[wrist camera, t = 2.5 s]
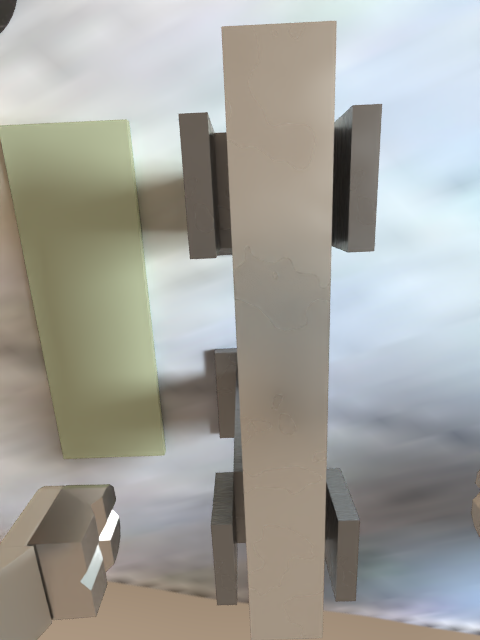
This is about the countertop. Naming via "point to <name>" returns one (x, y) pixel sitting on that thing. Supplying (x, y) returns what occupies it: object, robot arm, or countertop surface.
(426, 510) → the countertop surface
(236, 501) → the posts
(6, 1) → the travel mug
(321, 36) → the rail
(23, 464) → the countertop surface
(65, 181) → the mat
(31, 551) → the robot arm
